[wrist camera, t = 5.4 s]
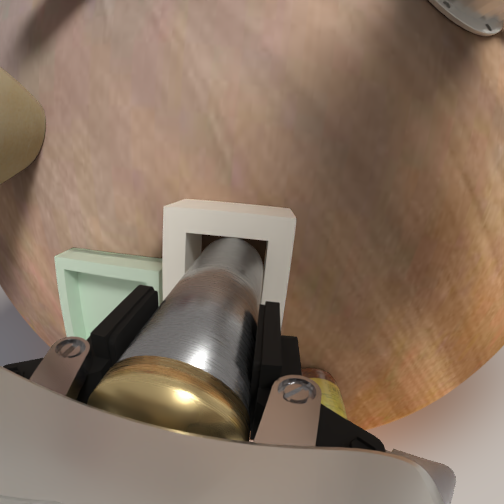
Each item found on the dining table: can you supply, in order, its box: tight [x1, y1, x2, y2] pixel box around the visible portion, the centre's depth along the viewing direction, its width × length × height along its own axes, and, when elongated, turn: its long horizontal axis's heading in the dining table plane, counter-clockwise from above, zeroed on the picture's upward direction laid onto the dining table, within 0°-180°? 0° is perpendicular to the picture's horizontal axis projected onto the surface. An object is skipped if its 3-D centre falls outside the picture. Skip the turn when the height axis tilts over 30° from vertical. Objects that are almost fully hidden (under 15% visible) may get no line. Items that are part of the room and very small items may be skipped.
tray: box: [54, 248, 163, 340], centre depth 24 cm, size 10×10×3 cm
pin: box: [87, 237, 263, 442], centre depth 12 cm, size 4×4×13 cm
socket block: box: [162, 199, 297, 327], centre depth 21 cm, size 8×8×5 cm
